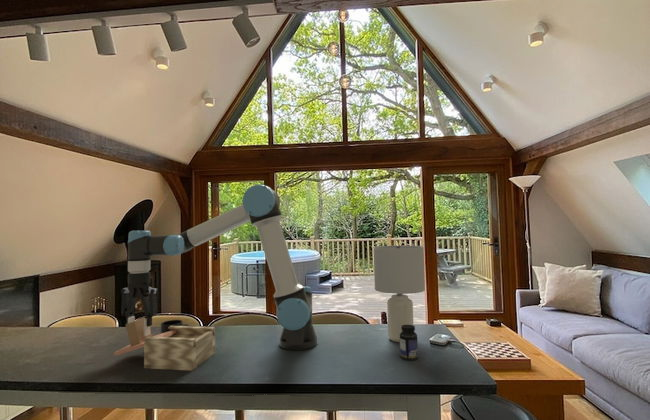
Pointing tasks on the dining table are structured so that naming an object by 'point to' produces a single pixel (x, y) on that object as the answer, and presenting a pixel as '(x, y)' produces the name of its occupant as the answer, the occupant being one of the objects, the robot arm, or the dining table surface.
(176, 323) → the mug
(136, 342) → the cover plate
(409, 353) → the pill bottle
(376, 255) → the lamp
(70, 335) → the dining table surface
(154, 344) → the birch box
